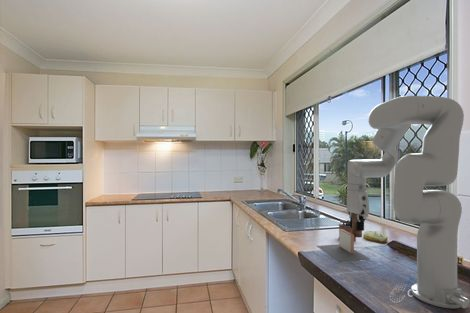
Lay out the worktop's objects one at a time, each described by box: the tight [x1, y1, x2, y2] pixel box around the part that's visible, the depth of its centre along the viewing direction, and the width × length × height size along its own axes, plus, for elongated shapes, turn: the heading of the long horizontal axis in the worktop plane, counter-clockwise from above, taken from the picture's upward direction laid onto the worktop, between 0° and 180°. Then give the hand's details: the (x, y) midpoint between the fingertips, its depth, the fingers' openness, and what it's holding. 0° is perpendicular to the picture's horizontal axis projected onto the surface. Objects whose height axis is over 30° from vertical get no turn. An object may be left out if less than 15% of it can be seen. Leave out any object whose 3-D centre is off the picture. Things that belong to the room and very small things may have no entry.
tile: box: [338, 228, 355, 254], centre depth 118 cm, size 9×1×8 cm, turn 10°
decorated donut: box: [362, 230, 389, 244], centre depth 134 cm, size 10×11×4 cm
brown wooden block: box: [352, 212, 363, 238], centre depth 119 cm, size 4×4×13 cm
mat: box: [316, 244, 371, 263], centre depth 116 cm, size 19×14×1 cm
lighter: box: [338, 219, 357, 242], centre depth 134 cm, size 8×3×10 cm, turn 58°
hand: (357, 228), depth 119 cm, fingers closed on brown wooden block, 4 cm apart
